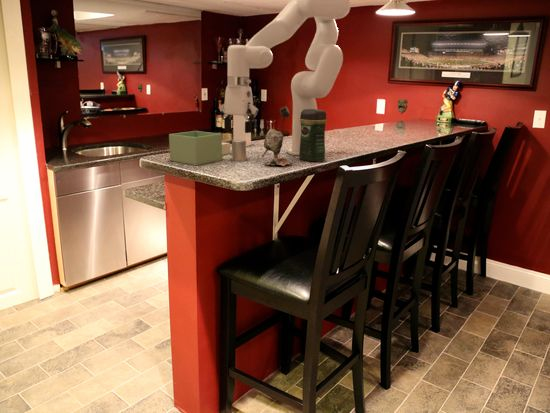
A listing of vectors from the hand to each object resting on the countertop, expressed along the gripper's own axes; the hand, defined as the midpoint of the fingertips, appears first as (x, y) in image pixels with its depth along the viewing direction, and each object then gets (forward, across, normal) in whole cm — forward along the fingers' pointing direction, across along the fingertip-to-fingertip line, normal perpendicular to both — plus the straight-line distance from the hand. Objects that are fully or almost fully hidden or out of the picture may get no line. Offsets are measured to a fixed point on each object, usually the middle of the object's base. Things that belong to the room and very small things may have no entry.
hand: (237, 131), depth 161 cm
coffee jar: (+10, -21, -18) cm, 29 cm away
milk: (+10, +21, -28) cm, 36 cm away
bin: (+11, +11, +10) cm, 18 cm away
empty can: (+10, 0, -1) cm, 10 cm away
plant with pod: (+10, -16, -2) cm, 19 cm away
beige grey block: (+10, +14, -7) cm, 18 cm away
